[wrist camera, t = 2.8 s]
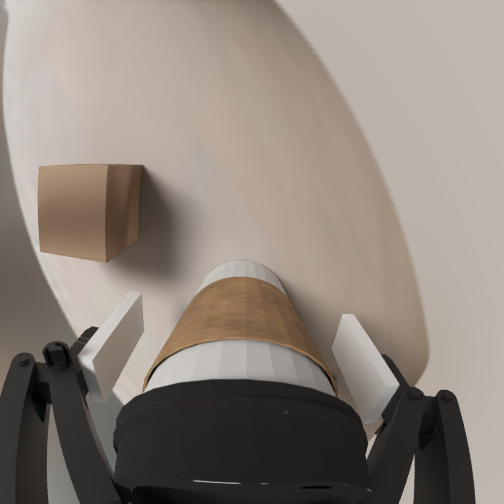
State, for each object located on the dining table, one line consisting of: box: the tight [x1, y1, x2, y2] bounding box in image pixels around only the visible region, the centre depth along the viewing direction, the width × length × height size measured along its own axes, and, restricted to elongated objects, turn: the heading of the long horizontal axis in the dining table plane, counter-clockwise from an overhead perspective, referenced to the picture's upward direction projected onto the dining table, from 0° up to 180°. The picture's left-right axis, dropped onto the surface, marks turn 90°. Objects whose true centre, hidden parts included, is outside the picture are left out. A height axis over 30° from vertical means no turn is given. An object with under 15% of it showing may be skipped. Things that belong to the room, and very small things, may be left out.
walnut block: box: [38, 164, 143, 263], centre depth 14 cm, size 5×5×5 cm
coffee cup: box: [113, 260, 372, 504], centre depth 12 cm, size 8×8×15 cm
